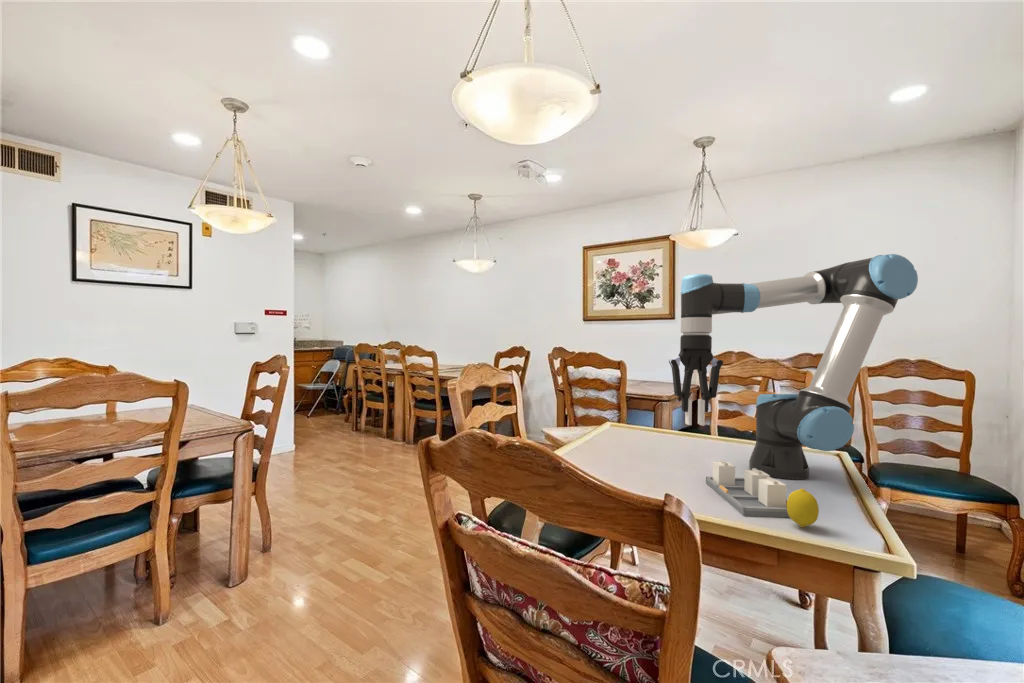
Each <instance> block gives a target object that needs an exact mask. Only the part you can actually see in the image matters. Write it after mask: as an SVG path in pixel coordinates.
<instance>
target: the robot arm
mask: <svg viewBox="0 0 1024 683" xmlns="http://www.w3.org/2000/svg"><path fill="white" fill-rule="evenodd" d="M918 282H919V278H918V271H917V270H916V269H915V266H914V264H913V263H912V262H911V261H910V260H909V259H908V258H906V257H905V256H903V255H900V254H896V253H890V254H878V255H875V256H873V257H868V258H864V259H858V260H854V261H850V262H845V263H841V264H838V265H834V266H832V267H829V268H828V267H827V268H825V269H820V270H815V271H810V272H806V274H805V275H804V276H798V277H797V276H796V277H790V278H789V277H788V278H783V279H776V280H768V281H760V282H752V283H745V282H742V283H716V282H714V278H713V276H712V275H711V274H707V273H695V274H689V275H685V276H683V277H682V279H681V284H680V285H681V286H680V333H681V334H682V335H681V336H680V340H679V341H680V344H679V346H680V347H679V348H680V349H679V350H680V351H679V353H678V356H677V357H674V358H673V359H672V358H670V359H669V360H668V364H669V365H670V368H671V374H672V382H673V392H674V396H675V397H679V398H680V399H681V410H682V411H681V412H683V413H684V415H685V417H684V418H685V419H684V420H685V422H684V423H685V425H687V426H692V420H693V418H692V417H693V416H692V415H693V411H692V410H693V407H692V406H693V405H692V404H693V400H692V399H690V393H691V386H692V378H693V374H694V371H697V374H698V382H699V389H700V397H701V398H698V399H697V425H700V426H703V427H705V420H706V416H705V414H706V413H709V402H710V400H711V399H714V398H717V395H718V394H717V393H718V387H719V378H720V372H721V368H722V366H723V364H724V361H723V360H721V359H717V358H716V357H714V354H713V353H712V348H713V347H712V346H713V345H712V343H713V340H712V338H713V337H712V335H710V334H712V333H713V316H715V315H720V314H721V315H723V314H731V313H741V314H743V313H753V312H755V311H756V310H757V309H762V308H763V309H764V308H771V307H772V308H773V307H779V306H785V305H793V304H795V305H796V304H802V303H808V304H810V305H819V304H842V305H843V309H842V310H841V313H840V315H839V318H838V320H837V322H836V325H835V327H834V329H833V331H832V333H831V336H830V339H829V340H828V343H827V344H826V347H825V349H824V351H823V353H822V356H821V358H820V361H819V363H818V365H817V368H816V370H815V373H814V375H813V377H812V379H811V381H810V383H809V386H807V387H805V388H802V389H800V390H799V392H798V393H761V394H759V395H758V396H757V398H756V403H755V404H756V405H755V408H756V409H755V410H756V412H755V413H756V416H755V417H756V420H755V421H756V422H755V423H756V424H755V425H756V427H755V430H756V431H755V433H756V434H755V445H754V448H753V451H752V452H751V456H750V458H749V462H748V468H749V470H752V468H756V469H757V470H759V471H763V472H765V473H766V474H768V475H770V477H771V478H777V479H785V480H804V479H808V478H810V467H809V464H808V461H807V459H806V455H805V452H804V450H803V446H804V447H807V448H808V449H811V450H818V451H823V452H831V451H836V450H838V449H841V448H843V447H844V446H845V445H847V443H849V441H850V440H851V439H852V437H853V435H854V431H855V424H854V423H853V421H854V420H853V417H852V415H851V414H850V412H851V410H852V406H851V405H850V403H849V401H848V398H849V395H850V393H851V391H852V388H853V386H854V384H855V381H856V379H857V377H858V375H859V373H860V369H861V368H862V366H863V363H864V361H865V359H866V356H867V355H868V351H869V350H870V347H871V344H872V343H873V340H874V338H875V336H876V333H877V331H878V328H879V326H880V324H881V322H882V320H883V318H884V316H886V315H889V314H891V313H893V312H894V311H895V309H896V306H897V303H898V301H899V300H902V299H905V298H907V297H908V296H911V295H912V294H913V293H914V292H915V291H916V289H917V287H918ZM680 362H681V363H680ZM710 363H711V369H710V375H709V376H710V378H709V384H708V376H707V374H708V371H707V369H708V368H707V367H708V366H709V364H710ZM681 364H682V365H683V366H684V374H683V375H684V376H683V381H682V382H683V383H681V373H680V365H681Z"/></svg>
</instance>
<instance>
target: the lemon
mask: <svg viewBox="0 0 1024 683" xmlns="http://www.w3.org/2000/svg"><path fill="white" fill-rule="evenodd" d="M786 500H787V512H788V515H789V517H790V519H791V520H792V521H793V522H794V523H795V524H797V525H798V526H799V528H802V529H803V528H805V527H808V526H811V525H813V524H815V523H816V522H817V520H818V519H819V513H820V512H819V511H820V509H819V503H818V501H817V498H816V497H815V496H814V495H813V494H812V493H811V492H809V491H807V490H806V489H805V488H800V489H795V490H793V491H792V492H791V493H790V494H789V495H788V497H787V498H786Z"/></svg>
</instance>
